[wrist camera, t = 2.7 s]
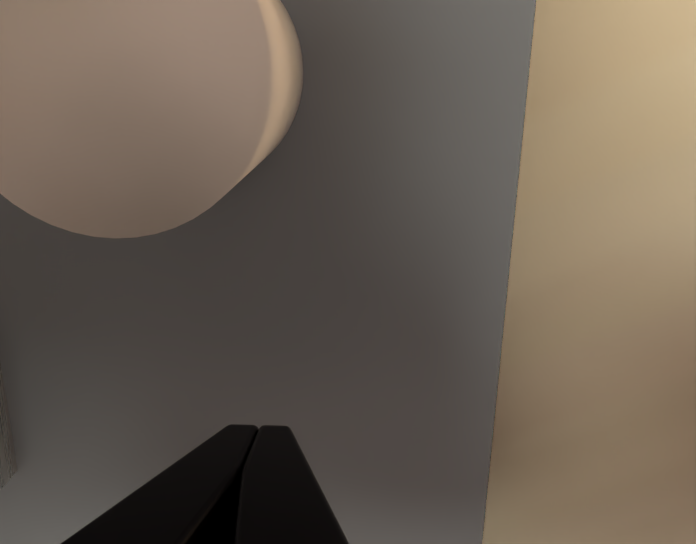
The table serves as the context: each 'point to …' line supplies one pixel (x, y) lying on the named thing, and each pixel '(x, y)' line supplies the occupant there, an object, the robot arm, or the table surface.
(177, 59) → the spacers
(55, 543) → the slate board
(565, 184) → the table surface
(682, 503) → the table surface
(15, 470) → the star tealight holder
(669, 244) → the table surface
